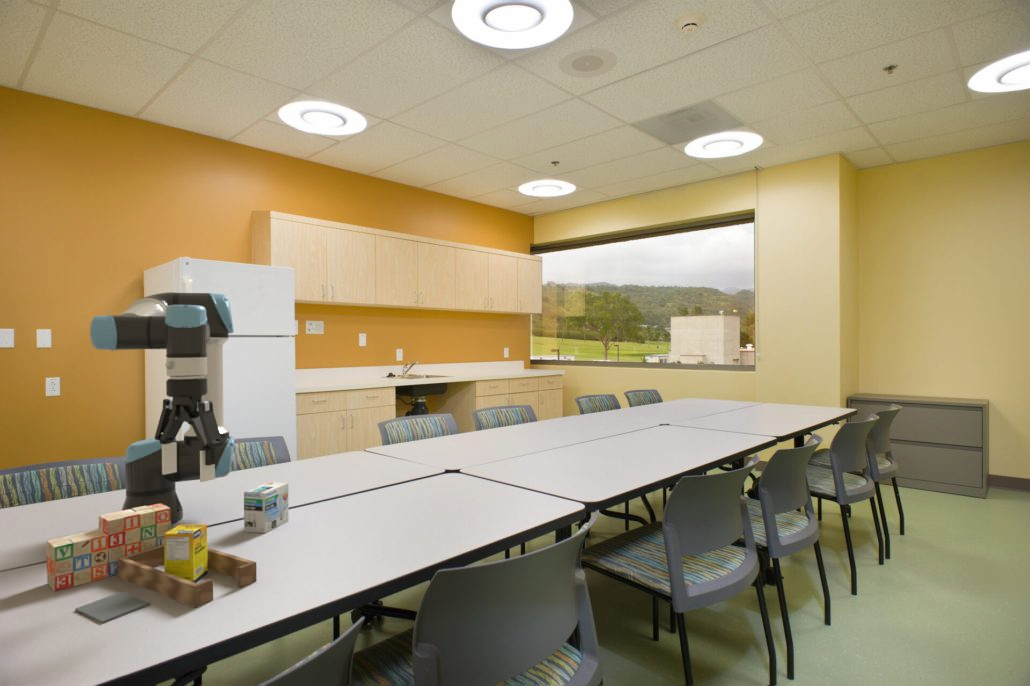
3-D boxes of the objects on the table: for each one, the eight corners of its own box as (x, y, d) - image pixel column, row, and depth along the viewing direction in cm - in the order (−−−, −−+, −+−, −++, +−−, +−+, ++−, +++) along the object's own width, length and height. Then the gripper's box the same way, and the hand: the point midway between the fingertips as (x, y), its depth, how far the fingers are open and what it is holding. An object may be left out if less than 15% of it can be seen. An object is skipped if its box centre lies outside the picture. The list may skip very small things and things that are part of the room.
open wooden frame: (118, 577, 118) (117, 558, 118) (179, 556, 130) (179, 539, 130) (195, 607, 105) (195, 586, 105) (256, 581, 116) (256, 562, 116)
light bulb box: (265, 534, 144) (265, 493, 144) (242, 532, 146) (242, 491, 145) (289, 520, 155) (289, 482, 155) (268, 519, 156) (268, 481, 156)
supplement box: (208, 573, 120) (207, 523, 120) (193, 585, 114) (192, 533, 114) (180, 573, 120) (180, 523, 120) (164, 586, 114) (163, 533, 114)
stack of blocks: (53, 592, 111) (53, 532, 111) (46, 584, 115) (45, 525, 115) (171, 559, 128) (170, 506, 128) (161, 553, 132) (161, 502, 132)
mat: (75, 610, 104) (75, 608, 104) (122, 593, 111) (122, 591, 111) (102, 623, 99) (102, 621, 99) (149, 604, 106) (149, 602, 106)
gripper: (135, 376, 120) (136, 474, 120) (205, 380, 108) (206, 488, 108) (171, 374, 126) (171, 466, 126) (240, 377, 114) (241, 479, 115)
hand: (188, 476), depth 117 cm, fingers open, 13 cm apart
